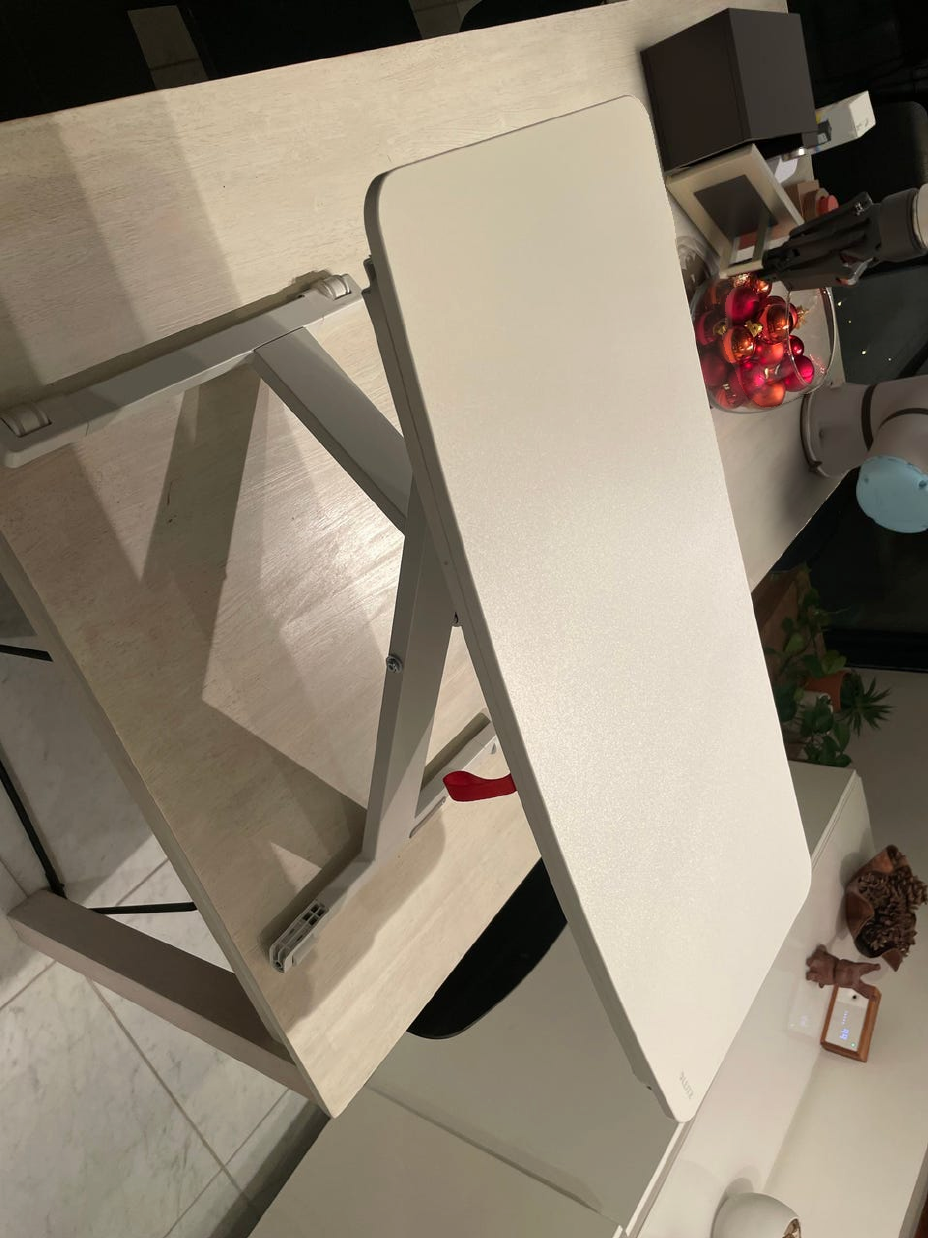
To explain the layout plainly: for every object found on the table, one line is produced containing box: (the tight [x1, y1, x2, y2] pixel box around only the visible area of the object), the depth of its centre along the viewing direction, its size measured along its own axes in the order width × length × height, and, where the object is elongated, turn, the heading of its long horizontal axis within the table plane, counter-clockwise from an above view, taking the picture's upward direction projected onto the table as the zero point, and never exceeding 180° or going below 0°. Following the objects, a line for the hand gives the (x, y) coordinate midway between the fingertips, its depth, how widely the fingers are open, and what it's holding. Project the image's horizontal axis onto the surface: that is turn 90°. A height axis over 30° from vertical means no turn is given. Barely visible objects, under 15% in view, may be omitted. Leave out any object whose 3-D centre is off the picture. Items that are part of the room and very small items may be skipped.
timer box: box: [783, 179, 830, 236], centre depth 146 cm, size 10×8×4 cm
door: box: [665, 143, 804, 279], centre depth 120 cm, size 8×15×12 cm, turn 67°
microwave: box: [639, 7, 819, 173], centre depth 120 cm, size 16×20×12 cm
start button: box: [818, 195, 839, 216], centre depth 144 cm, size 4×4×2 cm
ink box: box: [797, 90, 876, 160], centre depth 140 cm, size 9×5×12 cm, turn 123°
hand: (736, 276), depth 125 cm, fingers closed
